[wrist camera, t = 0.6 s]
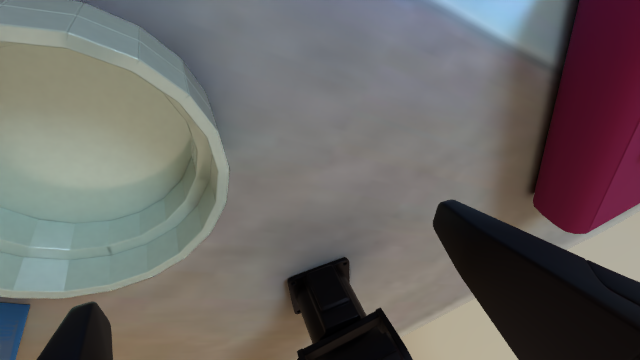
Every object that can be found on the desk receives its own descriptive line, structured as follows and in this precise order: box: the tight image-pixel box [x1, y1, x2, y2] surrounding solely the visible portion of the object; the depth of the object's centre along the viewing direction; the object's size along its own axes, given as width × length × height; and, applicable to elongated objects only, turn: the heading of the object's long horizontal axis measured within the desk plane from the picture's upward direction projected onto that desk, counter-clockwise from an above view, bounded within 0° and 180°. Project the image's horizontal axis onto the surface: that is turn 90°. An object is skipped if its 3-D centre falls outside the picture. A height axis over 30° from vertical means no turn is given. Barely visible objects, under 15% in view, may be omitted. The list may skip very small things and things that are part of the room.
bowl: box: [0, 0, 230, 299], centre depth 17 cm, size 14×14×5 cm
